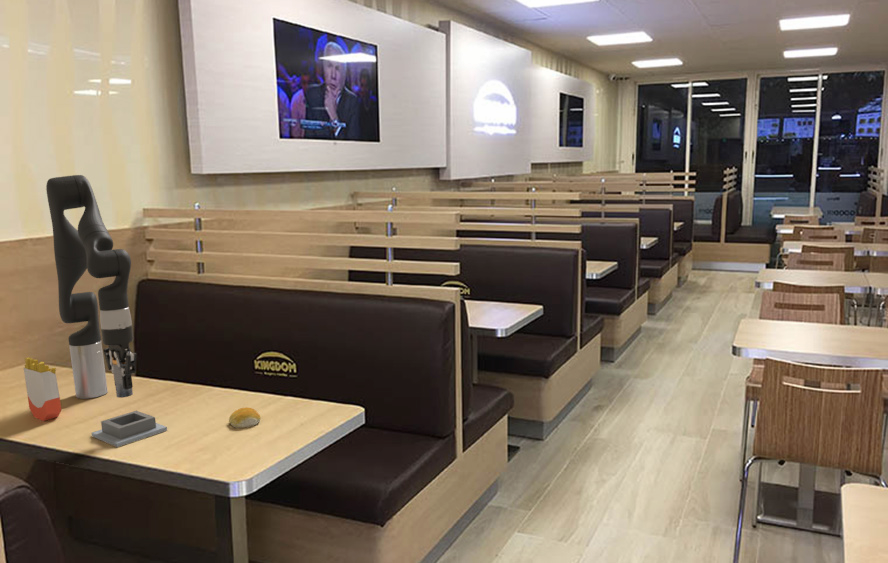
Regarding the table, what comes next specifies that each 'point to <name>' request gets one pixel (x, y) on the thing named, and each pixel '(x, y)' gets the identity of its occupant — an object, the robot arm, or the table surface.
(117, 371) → the cylinder
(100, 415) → the table surface
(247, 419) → the bread roll
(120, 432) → the socket
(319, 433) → the table surface
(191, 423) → the table surface
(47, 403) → the french fries container
